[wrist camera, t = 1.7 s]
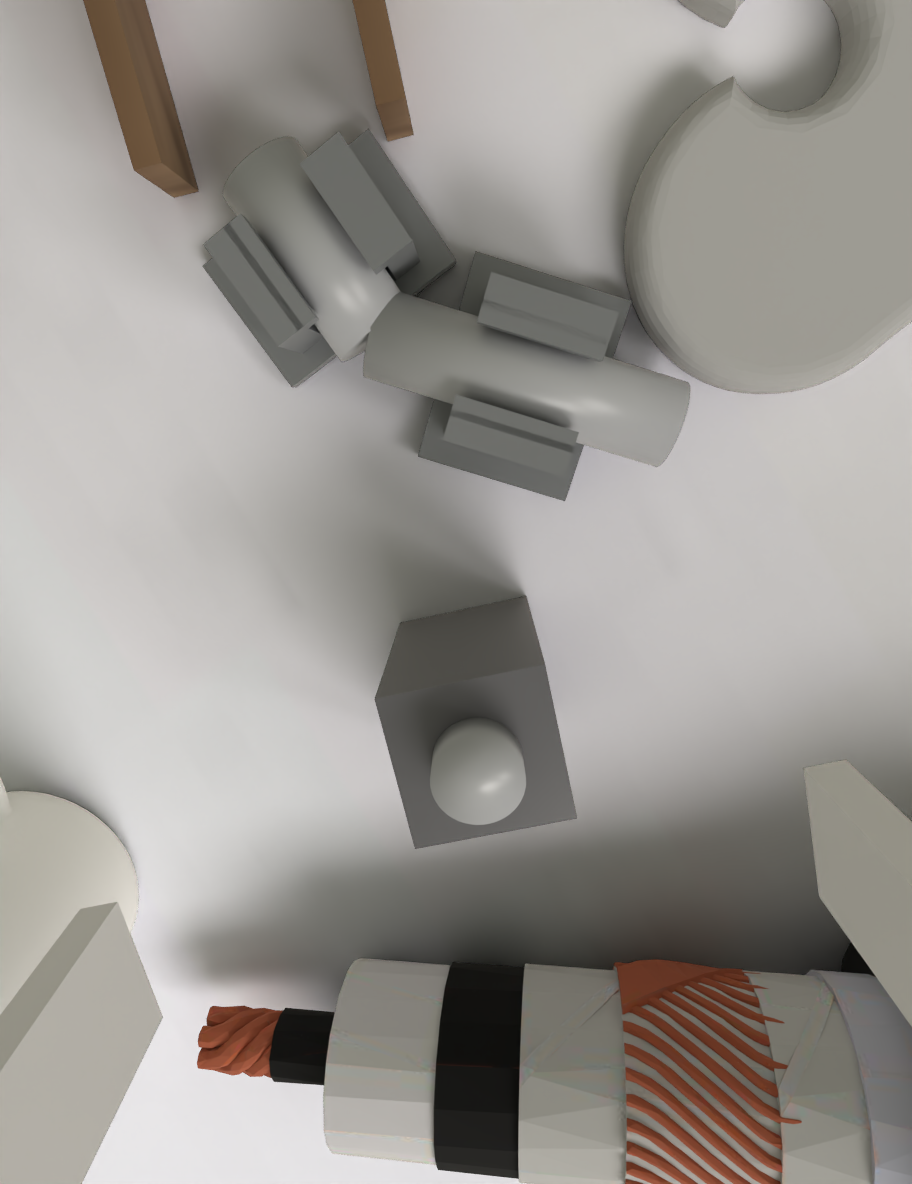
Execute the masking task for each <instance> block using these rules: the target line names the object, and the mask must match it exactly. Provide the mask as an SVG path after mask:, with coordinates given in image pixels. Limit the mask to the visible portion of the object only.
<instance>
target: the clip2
mask: <svg viewBox="0 0 912 1184" xmlns="http://www.w3.org/2000/svg"><path fill="white" fill-rule="evenodd" d="M223 197H224V199H225V201H226V202H227V203H228V205H229V206H230V207H231V209H232V210H233V212H234V213H235V214H236V216H237V217H235V218H234V219H233V220H232V221H231V222H229V223H228V224H227V225H226V226H225V227H223V228H222V229H221V230H220V231H219V232H217V233H216V234H215V235H214V236H213V237H211V238H210V239H209V240H208V241H207V242H205V243H204V244H203V245H204V246H205V248H206V249H207V250H208V252H209V253H210V255H211V256H212V257H213V258H212V259H210V260H209V261H208V262H207V263H206V264H204V265H203V267H204V269H205V270H206V272H207V273H208V274H209V276H210V277H211V278H212V280H213V281H214V282H215V284H216V285H217V286H218V288H219V289H220V290H221V292H222V293H223V295H224V296H225V297H226V299H227V300H228V301H229V303H230V304H231V305H232V307H233V308H234V309H235V311H236V312H237V314H238V315H239V316H240V318H241V319H242V320H243V322H244V323H245V324H246V326H247V327H248V328H249V330H250V331H251V332H252V334H253V335H254V337H255V338H256V339H257V341H258V342H259V343H260V345H261V346H262V347H263V349H264V350H265V351H266V353H267V354H268V355H269V357H270V358H271V360H272V361H273V362H274V364H275V365H276V366H277V368H278V369H279V370H280V372H281V373H282V374H283V376H284V377H285V378H286V380H287V381H288V383H289V384H290V385H291V387H298V386H299V385H300V384H301V383H303V382H304V381H305V380H307V379H308V378H309V377H310V376H312V375H313V374H314V373H316V372H317V371H318V370H319V369H321V368H322V367H323V366H325V365H326V364H327V363H329V362H330V361H331V360H332V359H334V358H335V357H336V356H338V358H339V359H340V361H341V362H345V361H348V360H350V359H352V358H354V357H355V356H357V355H359V354H361V353H362V352H364V351H365V350H366V345H367V340H368V335H369V332H370V331H371V330H370V327H371V325H372V324H373V322H374V321H375V319H376V318H377V317H378V315H379V314H380V312H381V311H382V310H383V309H384V307H385V306H386V305H387V304H388V302H389V301H390V300H391V299H392V298H393V297H394V296H395V295H396V294H397V293H399V292H402V293H405V294H409V295H412V296H415V295H416V294H418V293H419V292H420V291H421V290H423V289H424V288H425V287H427V286H428V285H429V284H430V283H432V282H433V281H434V280H436V279H437V278H438V277H440V276H441V275H442V274H443V273H445V272H446V271H447V270H449V269H450V268H451V267H452V266H454V265H455V264H456V259H455V258H454V256H453V255H452V253H451V252H450V250H449V249H448V247H447V246H446V244H445V243H444V241H443V240H442V238H441V237H440V235H439V234H438V232H437V231H436V229H435V228H434V226H433V225H432V223H431V222H430V220H429V219H428V217H427V216H426V214H425V213H424V211H423V210H422V208H421V207H420V205H419V204H418V202H417V201H416V199H415V198H414V196H413V195H412V193H411V192H410V190H409V189H408V187H407V186H406V184H405V183H404V181H403V180H402V178H401V177H400V175H399V174H398V172H397V171H396V169H395V168H394V166H393V165H392V163H391V162H390V160H389V159H388V157H387V156H386V154H385V153H384V151H383V150H382V148H381V147H380V145H379V144H378V142H377V141H376V139H375V138H374V136H373V135H372V133H371V132H370V130H369V129H367V130H366V131H365V132H364V133H362V134H361V135H360V136H359V137H358V138H356V139H355V140H354V141H353V142H352V143H350V144H349V145H348V144H347V142H346V141H345V140H344V138H343V137H342V135H341V134H340V132H339V131H338V132H337V133H336V134H335V135H333V136H332V137H331V138H330V139H329V140H328V141H326V142H325V143H324V144H323V145H322V146H320V147H319V148H318V149H317V150H316V151H314V152H313V153H312V154H311V155H310V156H307V154H306V153H305V151H304V150H303V148H302V147H301V145H300V144H299V143H298V141H297V140H296V139H295V138H293V137H281V138H277V139H274V140H272V141H270V142H268V143H266V144H264V145H262V146H261V147H259V148H257V149H256V150H255V151H253V152H252V153H251V154H249V155H248V156H247V157H246V158H245V159H244V160H243V161H242V162H241V163H240V164H239V165H238V166H237V167H236V168H235V169H234V170H233V172H232V173H231V174H230V176H229V177H228V179H227V181H226V183H225V185H224V189H223Z"/></svg>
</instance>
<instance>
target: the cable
mask: <svg viewBox="0 0 912 1184" xmlns="http://www.w3.org/2000/svg"><path fill="white" fill-rule="evenodd" d="M198 1045H199V1047H202V1049H201V1051H200V1053H199V1056H198V1061H197V1065H198V1068H200V1069H208V1070H215V1071H218V1072H222V1073H226V1074H229V1075H238V1074H240V1073H242V1072H244V1073H245V1074H247V1075H248V1076H250V1077H255V1076H263V1075H265V1076H267V1077H270V1078H272V1079H273V1081H274V1082H288V1083H302V1084H316V1085H324V1093H323V1108H324V1133H325V1138H326V1143H327V1146H328V1148H329V1149H330V1151H331V1153H333V1154H343V1155H352V1156H361V1157H370V1158H379V1159H388V1160H397V1161H407V1162H416V1163H425V1164H434V1165H437V1168H438V1170H445V1171H454V1172H463V1173H472V1174H481V1175H490V1176H499V1177H509V1178H518V1179H519V1182H520V1183H528V1184H912V1027H911V1025H910V1024H909V1022H908V1021H907V1020H906V1018H905V1017H904V1015H903V1014H902V1013H901V1011H900V1010H899V1008H898V1007H897V1006H896V1004H895V1003H894V1001H893V1000H892V998H891V997H890V996H889V994H888V993H887V991H886V990H885V989H884V987H883V986H882V984H881V983H880V982H879V980H878V979H877V977H876V976H875V975H874V973H873V972H872V970H871V969H870V968H869V966H868V965H867V963H866V962H865V961H864V959H863V958H862V956H861V955H860V954H859V952H858V951H857V949H856V948H855V947H854V945H853V944H852V942H850V945H849V947H848V949H847V951H846V953H845V956H844V958H843V960H842V968H841V972H834V971H821V970H810V971H809V972H808V973H807V974H806V975H795V974H783V973H770V972H757V971H745V970H742V969H730V968H714V967H708V966H703V965H697V964H691V963H684V962H677V961H669V960H658V959H653V960H637V961H634V962H631V963H620V962H615V963H614V967H613V970H603V969H590V968H577V967H564V966H551V965H538V964H525V968H523V967H511V966H498V965H485V964H472V963H459V962H453V963H452V965H442V964H430V963H417V962H404V961H391V960H378V959H366V958H359V959H356V960H354V962H353V963H352V965H351V966H350V968H349V969H348V971H347V974H346V976H345V979H344V982H343V985H342V988H341V991H340V993H339V996H338V1001H337V1005H336V1010H335V1012H325V1011H314V1010H303V1009H292V1008H285V1009H284V1010H283V1011H275V1010H271V1009H266V1008H258V1009H252V1008H249V1007H246V1006H234V1007H218V1006H212V1007H211V1008H210V1010H209V1013H208V1016H207V1026H203V1027H202V1029H201V1031H200V1034H199V1038H198Z"/></svg>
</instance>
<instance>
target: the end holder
mask: <svg viewBox="0 0 912 1184" xmlns="http://www.w3.org/2000/svg"><path fill="white" fill-rule="evenodd" d="M83 1H84V5H85V8H86V11H87V15H88V18H89V21H90V25H91V28H92V31H93V35H94V38H95V41H96V45H97V48H98V51H99V55H100V58H101V62H102V65H103V68H104V72H105V75H106V78H107V82H108V85H109V88H110V92H111V95H112V98H113V102H114V105H115V108H116V112H117V115H118V119H119V122H120V125H121V129H122V132H123V135H124V139H125V142H126V145H127V149H128V152H129V155H130V159H131V162H132V165H133V169H134V171H136V172H137V173H139V174H140V175H142V176H143V177H145V178H146V179H147V180H149V181H150V182H152V183H153V184H155V185H156V186H158V187H159V188H161V189H162V190H163V191H165V192H166V193H168V194H169V195H171V196H172V197H174V198H175V197H179V196H183V195H186V194H190V193H194V192H198V187H197V184H196V180H195V177H194V173H193V169H192V166H191V162H190V159H189V155H188V152H187V148H186V145H185V141H184V137H183V134H182V130H181V127H180V123H179V120H178V116H177V113H176V109H175V105H174V102H173V98H172V95H171V91H170V88H169V84H168V81H167V77H166V73H165V70H164V66H163V63H162V59H161V56H160V52H159V49H158V45H157V41H156V38H155V34H154V31H153V27H152V24H151V20H150V17H149V13H148V9H147V6H146V2H145V0H83ZM353 5H354V9H355V13H356V18H357V22H358V27H359V31H360V36H361V40H362V45H363V49H364V54H365V58H366V63H367V67H368V71H369V76H370V80H371V85H372V89H373V94H374V98H375V103H376V107H377V110H378V113H379V116H380V119H381V122H382V125H383V128H384V131H385V134H386V137H387V140H388V141H392V140H395V139H399V138H403V137H407V136H411V135H414V134H413V129H412V125H411V120H410V115H409V111H408V106H407V101H406V97H405V92H404V88H403V83H402V78H401V74H400V69H399V64H398V60H397V55H396V50H395V46H394V41H393V36H392V32H391V27H390V22H389V18H388V13H387V9H386V4H385V0H353Z"/></svg>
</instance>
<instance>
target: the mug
mask: <svg viewBox="0 0 912 1184" xmlns="http://www.w3.org/2000/svg"><path fill="white" fill-rule="evenodd" d="M113 902H118V903H119V906H120V909H121V911H122V914H123V916H124V919H125V921H126V924H127V926H128V929H129V932H130V934H131V931H132V929H133V926H134V924H135V920H136V916H137V913H138V905H139V889H138V880H137V876H136V871H135V869H134V866H133V863H132V860H131V858H130V856H129V854H128V852H127V850H126V849H125V847H124V846H123V844H122V843H121V841H120V840H119V838H118V837H117V836H116V835H115V834H114V833H113V832H112V830H111V829H110V828H109V827H108V826H107V825H106V824H104V823H103V822H102V821H101V820H100V819H99V818H97V817H96V816H95V815H93V814H92V813H90V812H89V811H88V810H86V809H84V808H82V807H80V806H79V805H77V804H75V803H73V802H70V801H68V800H65V799H63V798H60V797H57V796H53V795H50V794H45V793H39V792H31V791H12V792H6V789H5V787H4V784H3V782H2V779H1V777H0V1015H1V1013H2V1012H3V1011H4V1009H5V1008H6V1007H7V1005H8V1004H9V1003H10V1001H11V1000H12V999H13V997H14V996H15V995H16V993H17V992H18V991H19V989H20V988H21V987H22V985H23V984H24V983H25V981H26V980H27V979H28V977H29V976H30V975H31V974H32V972H33V971H34V970H35V968H36V967H37V966H38V964H39V963H40V962H41V960H42V959H43V958H44V956H45V955H46V954H47V952H48V951H49V950H50V948H51V947H52V946H53V944H54V943H55V942H56V940H57V939H58V938H59V936H60V935H61V934H62V932H63V931H64V930H65V928H66V927H67V926H68V924H69V923H70V922H71V920H72V919H73V918H74V916H75V915H76V914H77V912H78V911H79V910H80V909H82V908H87V907H92V906H97V905H102V904H107V903H113Z"/></svg>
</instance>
